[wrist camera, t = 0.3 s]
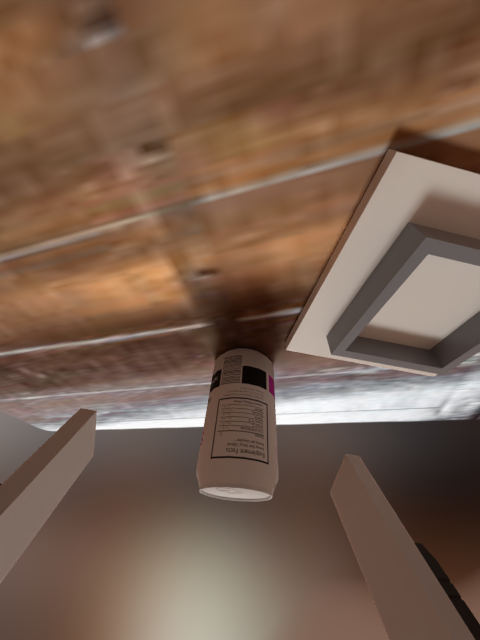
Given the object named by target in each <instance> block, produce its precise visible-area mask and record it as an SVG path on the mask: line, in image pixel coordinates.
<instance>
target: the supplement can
mask: <svg viewBox="0 0 480 640" xmlns="http://www.w3.org/2000/svg"><path fill="white" fill-rule="evenodd" d="M196 474H197V478H198V482H199V486H200V493H202V494H203V495H206V496H210V497H214V498H219V499H225V500H234V501H265V500H270V499H272V498H273V491H274V489H275V486H276V483H277V481H278V458H277V436H276V414H275V393H274V371H273V364H272V362H271V361H270V360H269V359H268V357H266V356H264V355H263V354H262V353H260V352H258V351H256V350H252V349H246V348H238V349H233V350H229V351H227V352H225V353H224V354H222V355H220V356H219V357H218V358H217V359H216V361H215V365H214V371H213V377H212V383H211V388H210V394H209V400H208V406H207V411H206V417H205V423H204V429H203V435H202V441H201V446H200V452H199V457H198V463H197V469H196Z"/></svg>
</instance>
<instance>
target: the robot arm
mask: <svg viewBox="0 0 480 640" xmlns="http://www.w3.org/2000/svg"><path fill="white" fill-rule="evenodd" d="M96 414H97V411H93V410H88V409H82V408H81V409H80V410H79V411H78V412H77V413H76V414H74V415H73V416H72V417H71V418H70V419H69V420H68V421H67V422H66V423H65V424H64V425H63V426H62V427H61V428H60V429H59V430H58V431H57V432H56V433H55V434H54V435H53V436H52V437H50V439H48V440H47V441H46V442H45V443H44V444H43V445H42V446H41V447H40V448H39V449H38V450H37V451H36V452H35V453H34V454H33V455H32V456H31V457H30V458H29V459H28V460H27V461H25V462H24V463H23V464H22V465H21V466H20V467H19V468H18V469H17V470H16V471H15V472H14V473H13V474H12V475H11V476H10V477H9V478H8V479H7V480H6V481H5V482H4V483H2V484H0V583H1V582H2V581H3V579H4V578H5V577H6V575H7V574H8V572H9V571H10V570H11V568H12V567H13V566H14V564H15V563H16V561H17V560H18V559H19V557H20V556H21V555H22V553H23V552H24V550H25V549H26V548H27V546H28V545H29V544H30V542H31V541H32V539H33V538H34V537H35V535H36V534H37V532H38V531H39V530H40V528H41V527H42V525H43V524H44V523H45V521H46V520H47V519H48V517H49V516H50V515H51V513H52V512H53V510H54V509H55V508H56V506H57V505H58V503H59V502H60V501H61V499H62V498H63V497H64V495H65V494H66V493H67V491H68V490H69V488H70V487H71V486H72V484H73V483H74V482H75V480H76V479H77V477H78V476H79V475H80V473H81V472H82V471H83V469H84V468H85V466H86V465H87V463H88V462H89V461H90V459H91V458H92V457H93V455H94V442H95V441H94V440H95V428H96ZM330 494H331V496H332V499H333V502H334V504H335V506H336V509H337V511H338V514H339V516H340V519H341V521H342V524H343V526H344V529H345V531H346V534H347V536H348V538H349V541H350V543H351V546H352V548H353V551H354V553H355V556H356V558H357V561H358V563H359V565H360V568H361V570H362V573H363V575H364V578H365V580H366V583H367V585H368V588H369V590H370V592H371V595H372V598H373V600H374V602H375V605H376V607H377V610H378V612H379V615H380V617H381V620H382V622H383V625H384V627H385V630H386V632H387V634H388V637H389V639H390V640H480V624H479V623H478V621H477V620H476V618H475V617H474V616H473V614H472V612H471V611H470V609H469V608H468V606H467V605H466V604H465V602H464V601H463V600H462V599H461V596H460V595H459V593H458V592H457V590H456V588H455V587H454V585H453V584H451V583H450V580H449V578H448V577H447V575H446V574H445V572H444V571H443V569H442V568H441V566H440V565H439V563H438V562H437V560H436V559H435V558H434V557H433V556H432V555H431V554H430V553H429V552H428V550H427V549H426V548H425V547H424V546H423V545H422V544H420V543H414V542H413V540H412V539H411V537H410V536H409V534H408V533H407V531H406V529H405V528H404V526H403V524H402V523H401V521H400V520H399V518H398V517H397V515H396V513H395V512H394V510H393V509H392V507H391V505H390V504H389V502H388V501H387V499H386V498H385V496H384V495H383V493H382V491H381V490H380V488H379V486H378V485H377V483H376V482H375V480H374V479H373V477H372V475H371V474H370V472H369V471H368V469H367V468H366V466H365V464H364V463H363V461H362V460H361V458H360V456H356V455H350V454H346V455H345V457H344V460H343V462H342V465H341V467H340V470H339V472H338V474H337V477H336V479H335V482H334V484H333V486H332V489H331V492H330Z"/></svg>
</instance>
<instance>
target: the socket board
mask: <svg viewBox="0 0 480 640" xmlns="http://www.w3.org/2000/svg"><path fill="white" fill-rule="evenodd" d="M285 347H286V350H289V351H294V352H300V353H305V354H311V355H316V356H322V357H328V358H333V359H339V360H344V361H350V362H355V363H361V364H366V365H372V366H378V367H383V368H389V369H394V370H400V371H405V372H411V373H416V374H422V375H427V376H433V377H434V376H436V375H437V374H440V375H443V374H445V373H446V372H448V371H450V370H451V369H453V368H454V367H456V366H457V365H459V364H461V363H462V362H464V361H465V360H467V359H468V358H470V357H471V356H473V355H475V354H476V353H478V352H479V351H480V173H476V172H472V171H469V170H465V169H462V168H458V167H454V166H451V165H447V164H443V163H440V162H436V161H433V160H429V159H425V158H422V157H418V156H414V155H411V154H407V153H403V152H400V151H396V150H393V149H388V151H387V153H386V155H385V157H384V159H383V160H382V162H381V164H380V166H379V168H378V170H377V172H376V173H375V175H374V177H373V179H372V181H371V183H370V185H369V187H368V188H367V190H366V192H365V194H364V196H363V198H362V200H361V201H360V203H359V205H358V207H357V209H356V211H355V213H354V215H353V216H352V218H351V220H350V222H349V224H348V226H347V228H346V230H345V231H344V233H343V235H342V237H341V239H340V241H339V243H338V244H337V246H336V248H335V250H334V252H333V254H332V256H331V258H330V259H329V261H328V263H327V265H326V267H325V269H324V271H323V272H322V274H321V276H320V278H319V280H318V282H317V284H316V286H315V287H314V289H313V291H312V293H311V295H310V297H309V299H308V301H307V302H306V304H305V306H304V308H303V310H302V312H301V314H300V315H299V317H298V319H297V321H296V323H295V325H294V327H293V329H292V330H291V332H290V334H289V336H288V338H287V340H286V342H285Z"/></svg>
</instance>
